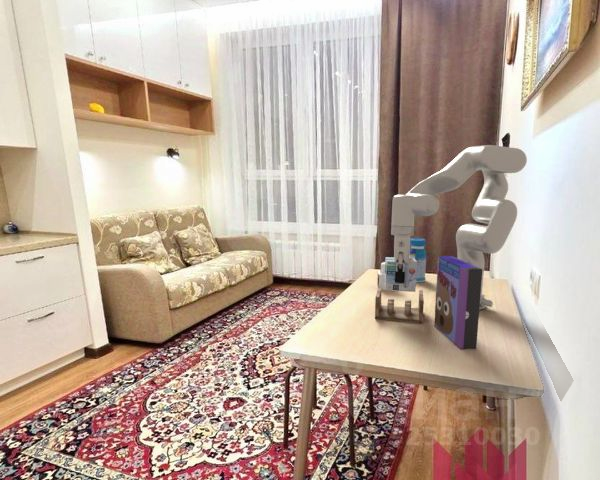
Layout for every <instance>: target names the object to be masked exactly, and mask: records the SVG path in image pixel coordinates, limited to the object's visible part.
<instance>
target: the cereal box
mask: <svg viewBox="0 0 600 480" xmlns="http://www.w3.org/2000/svg"><path fill="white" fill-rule="evenodd" d="M481 282H482V269H481V268H478V267H476V266H474V265H471V264H469V263H467V262H464V261H462V260H460V259H457V257H455V256H452V255H441V256H437V269H436V287H435V302H434V303H435V305H434V321H433V322H434V325H433V326H434V328H435V329H437V330H438V331H439V332H440V333H441V334H442V335H443V336H445V337H446V338H447V339H448V340H449V341H450V342H451V343H453V344H454V345H455V346H456V347H457V348H458V349H459V350H473V349H474V350H477V343H478V331H479V330H478V329H479V318H480V310H479V307H480V294H481Z"/></svg>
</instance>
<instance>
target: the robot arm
mask: <svg viewBox="0 0 600 480" xmlns="http://www.w3.org/2000/svg"><path fill="white" fill-rule="evenodd" d="M527 161H528V159H527V155H526V153H525V152H524V150H522V149H521V148H518V147H510V146H502V145H493V144H485V145H484V144H483V145H474V146H468V147H466V148H465V149H464V150H462V151H461V152H460V153H458V155H457V156H456V157H455V158H453V160H451V161H450V162H449V163H448V164H446V166H445V167H443V168H442V169H441V170H440V171H437V172H436V173H434V174H432V175H431V176H428V177H427V178H425V179H423V180H422V181H420V182H418V183H417V184H416V185H415V186H414V187H412V188H411V189H410V190H409V191H408V192H407V193H406V194H396V195H393V197H392V204H391V205H392V206H391V208H392V209H391V226H390V227H391V229H390V235H391V236H394V238H393V241H394V242H393V257H394V261H395V263H396V271H395V283H404V282H405V272H404V267H405V263H407V265H408V264H409V256H410V248H411V245H410V240H411V237H413V236H414V231H415V230H414V229H415V228H414V227H415V226H414V225H415V216H422V217H430V216H432V215H433V216H434V215H435V214H436V213H437V212H438V211H439V210H440V209H439V208H440V201H439V199H438V198H437V197H436V196H437V195H440V194H442V193H448V192H451V191H454V190H456V189H458V188H460V187H461V186H462V185H463V184H464V183H465V182H466V181H467V180H468V179H469V178H470V177H472V176H473V175H474V174H475V173H476V172H478V171H481V173H482V175H483V180H484V183H483V186H482V187H481V191H480V193H479V195H478V196H477V199H476V201H475V202H474V205H473V207H472V211H471V217H472V219H473V220H475V221H476V222H477V223H465V224H463V225H461V226H460V227H459V228H458V229H457V231H456V234H455V241H456V249H457V252H456V253H457V257H456V258H457V259H460V260H462V261H464V262H467V263H469V264H471V265H474V266H476V267H478V268H481V269H482V282H481V294H480V307H479V311H482V310H484V309H486V307H490V308H492V307H493V306H494V302H493V300H492V299H486V298H485V294H483V287H484V286H483V285H484V272H485V255H484V254H489V255H491V254H497V253H498V252H499V251H500V250H501V249H503V246H505V243H506V241H507V239H508V238H509V235H510V233H511V231H512V228H513V227H514V225H515V222H516V220H517V217H518V208H517V205H516V203H515V202H513V201H512V200H510V199H506V196H507V194H508V191H509V183H508V180H507V177H506V175H505V174H515V173H519V172H521V171H522V170H523V169H524V168H525V166H526V164H527ZM478 223H482V224H487V225H482V224H478ZM396 260H397V262H396ZM398 261H399V263H398ZM402 262H404V263H402Z"/></svg>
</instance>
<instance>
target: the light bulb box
mask: <svg viewBox="0 0 600 480" xmlns="http://www.w3.org/2000/svg"><path fill="white" fill-rule="evenodd" d="M384 261H385V274H384V287H385V290H384V291H391V292H392V291H393V292H412V293H414V292H415V293H416V288H417V282H416V275H417V261H416V260H415V258H409V264H408V265H407V263H405V267H404V272H405V282H404V283H395V271H396V263H395V261H394V256H393V257H392V256H391V257H389V256H385V259H384ZM396 262H397V260H396ZM398 263H399V261H398ZM402 263H404V262H402Z"/></svg>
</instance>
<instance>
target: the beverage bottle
mask: <svg viewBox="0 0 600 480" xmlns="http://www.w3.org/2000/svg"><path fill="white" fill-rule="evenodd" d="M425 246H426V239H425V238H421V237H419V238H418V237H415V238H414V237H412V238H410V256H409V258H415V260H416V261H417V275H416V283H423V282H425V281H426V267H427V266H426V265H427V257H426V255H427V251H426V249H425Z"/></svg>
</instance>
